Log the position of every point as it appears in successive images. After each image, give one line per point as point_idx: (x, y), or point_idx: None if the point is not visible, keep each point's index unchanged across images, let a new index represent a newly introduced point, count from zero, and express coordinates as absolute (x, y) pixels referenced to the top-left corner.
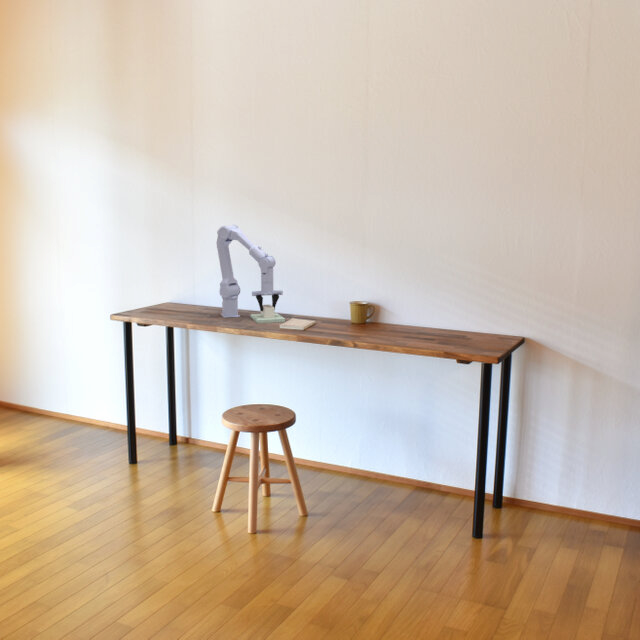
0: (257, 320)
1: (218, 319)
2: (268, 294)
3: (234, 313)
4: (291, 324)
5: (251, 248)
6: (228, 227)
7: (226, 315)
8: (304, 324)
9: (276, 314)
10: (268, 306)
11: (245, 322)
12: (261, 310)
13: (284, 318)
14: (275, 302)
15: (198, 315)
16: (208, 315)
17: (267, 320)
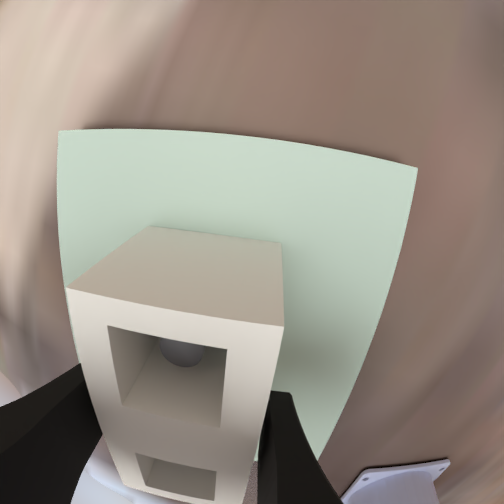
0: (409, 193)
1: (494, 428)
2: None
3: (396, 488)
4: (78, 11)
5: None
6: None
7: (430, 476)
8: (11, 12)
9: None
10: (158, 419)
11: (462, 291)
12: (290, 396)
13: (59, 148)
14: (16, 412)
15: (469, 493)
16: (445, 496)
17: (284, 141)
